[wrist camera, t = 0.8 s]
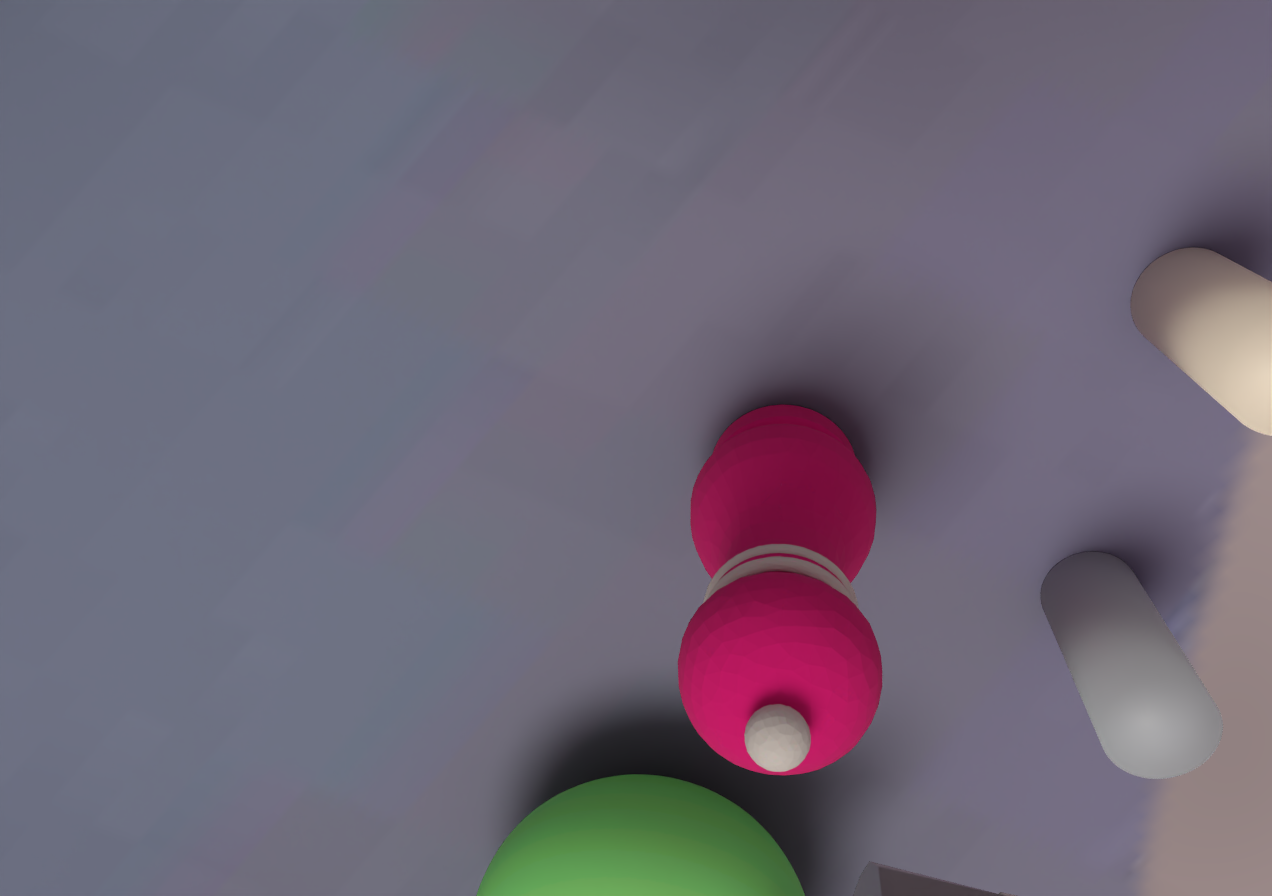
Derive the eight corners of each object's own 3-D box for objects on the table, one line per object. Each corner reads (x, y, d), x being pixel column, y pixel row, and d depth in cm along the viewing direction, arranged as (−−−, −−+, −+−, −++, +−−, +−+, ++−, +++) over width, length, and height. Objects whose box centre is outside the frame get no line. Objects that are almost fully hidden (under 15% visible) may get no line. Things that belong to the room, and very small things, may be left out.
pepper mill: (885, 407, 46) (947, 665, 28) (851, 561, 49) (887, 891, 30) (712, 379, 47) (659, 613, 28) (687, 533, 49) (624, 841, 31)
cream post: (1153, 236, 42) (1255, 296, 33) (1258, 261, 42) (1389, 327, 33) (1114, 335, 44) (1201, 418, 35) (1215, 359, 44) (1330, 450, 34)
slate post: (1059, 541, 47) (1125, 668, 38) (1153, 564, 47) (1241, 698, 38) (1027, 621, 49) (1082, 761, 39) (1118, 644, 48) (1195, 791, 39)
